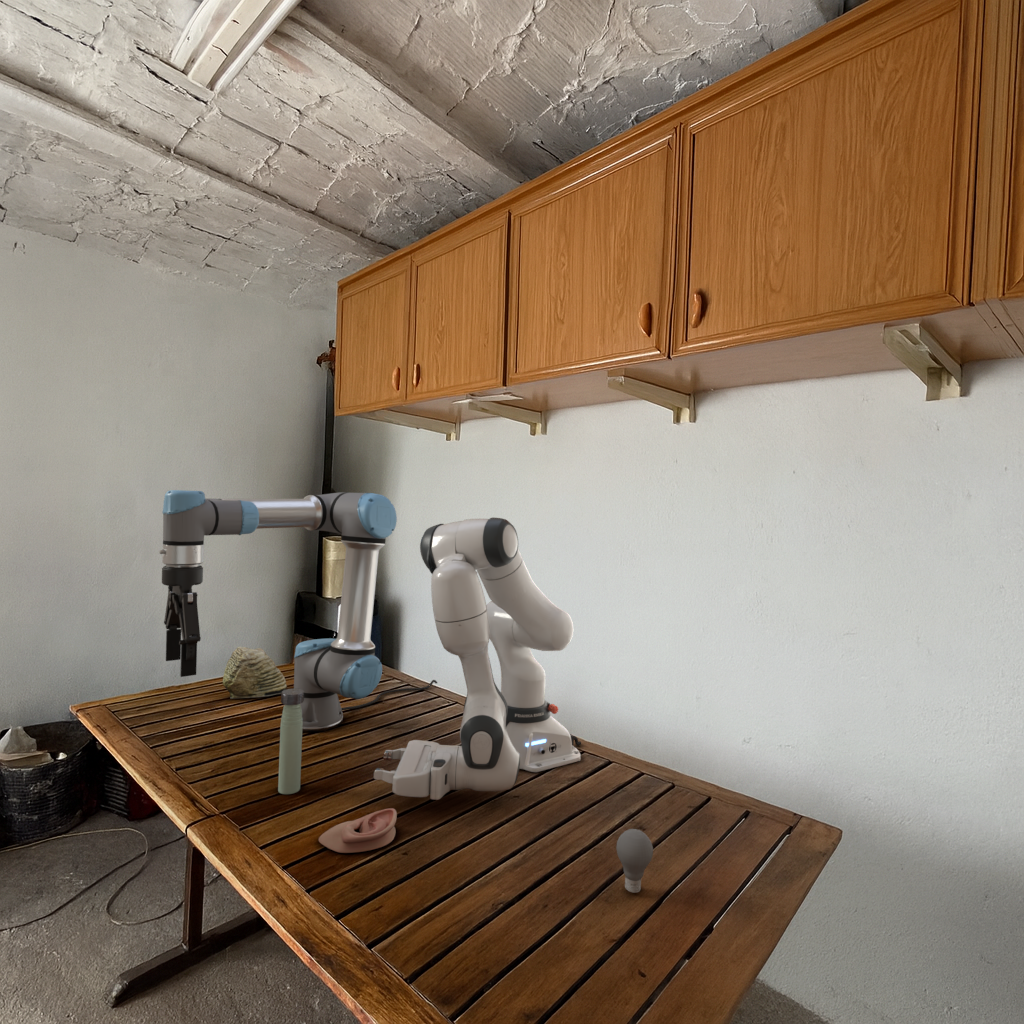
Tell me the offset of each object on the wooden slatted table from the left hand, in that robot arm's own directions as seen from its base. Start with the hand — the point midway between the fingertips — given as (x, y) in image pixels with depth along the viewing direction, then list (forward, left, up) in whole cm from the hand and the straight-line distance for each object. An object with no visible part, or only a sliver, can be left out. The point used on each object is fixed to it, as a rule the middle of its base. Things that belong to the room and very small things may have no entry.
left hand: (180, 667), depth 131 cm
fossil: (-45, -50, -27) cm, 73 cm away
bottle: (-18, +14, -27) cm, 35 cm away
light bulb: (-36, +86, -27) cm, 97 cm away
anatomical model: (-15, +40, -27) cm, 51 cm away
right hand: (-29, +29, -20) cm, 46 cm away
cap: (-18, +14, -6) cm, 23 cm away
